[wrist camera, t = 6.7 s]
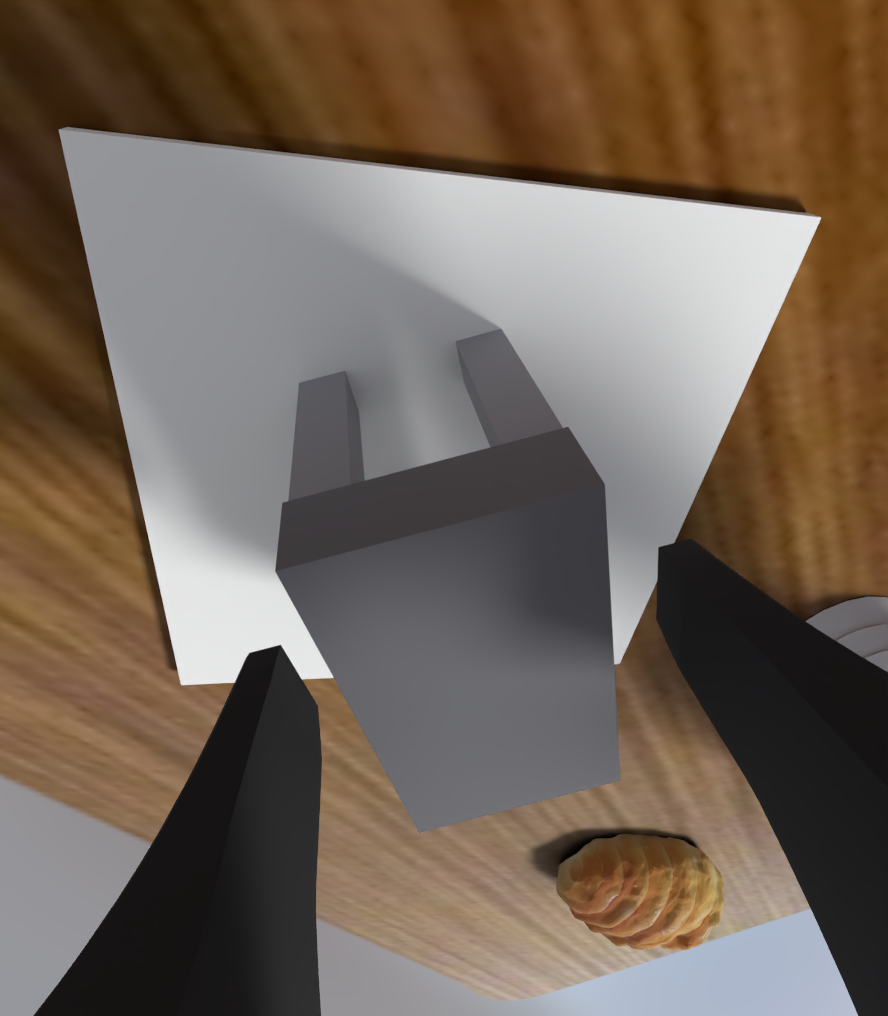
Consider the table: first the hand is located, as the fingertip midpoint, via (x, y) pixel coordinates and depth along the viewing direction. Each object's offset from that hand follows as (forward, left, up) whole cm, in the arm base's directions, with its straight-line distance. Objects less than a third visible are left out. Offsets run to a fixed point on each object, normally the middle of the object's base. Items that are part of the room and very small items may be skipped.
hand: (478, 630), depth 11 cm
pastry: (-13, +25, -5) cm, 29 cm away
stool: (0, 0, -4) cm, 5 cm away
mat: (0, 0, -5) cm, 5 cm away
